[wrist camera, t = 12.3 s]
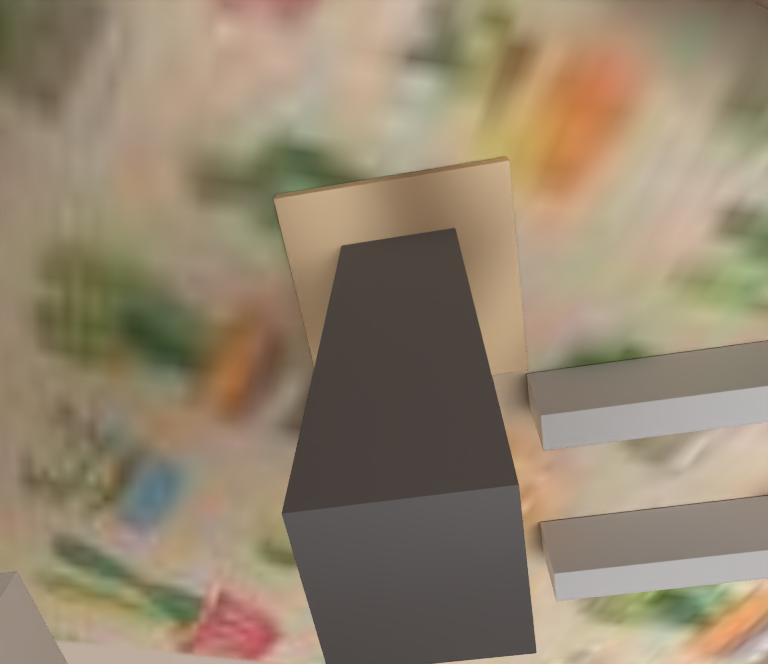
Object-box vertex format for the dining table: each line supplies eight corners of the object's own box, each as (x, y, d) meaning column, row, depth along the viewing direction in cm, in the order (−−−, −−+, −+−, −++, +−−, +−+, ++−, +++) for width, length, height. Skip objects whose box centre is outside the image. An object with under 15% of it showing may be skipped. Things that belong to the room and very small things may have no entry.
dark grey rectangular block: (362, 346, 26) (329, 674, 14) (341, 245, 24) (281, 513, 12) (468, 330, 26) (536, 652, 13) (455, 227, 24) (518, 484, 11)
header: (542, 548, 31) (556, 600, 28) (526, 373, 27) (540, 415, 24) (775, 521, 30) (812, 573, 27) (792, 337, 26) (837, 376, 24)
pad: (323, 390, 28) (321, 398, 27) (276, 194, 24) (273, 198, 24) (525, 362, 27) (528, 370, 26) (506, 156, 24) (509, 160, 23)
